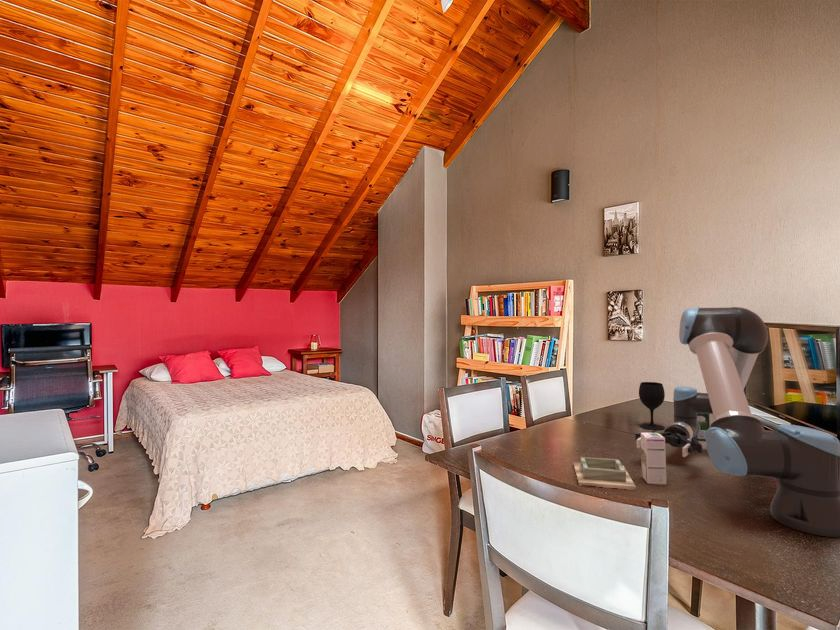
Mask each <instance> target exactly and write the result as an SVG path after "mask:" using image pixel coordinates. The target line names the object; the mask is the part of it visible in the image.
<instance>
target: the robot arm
mask: <svg viewBox="0 0 840 630" xmlns="http://www.w3.org/2000/svg"><path fill="white" fill-rule="evenodd" d="M678 336H679V337H678V338H679V341H680V344H682V345H684V346H685V345H688V348H689V350H690V352H691V353H693V354H694V355H696V357H697V361H698V363H699V368H700V370H701V373H702V374H701V375H702V379H703V382H704V386H705V389H706V392H698V391H697V390H698V389H696V388H695V387H692V386H676V387H675V388H673V397H672V398H673V399H672V400H673V423H672V424H670V425H669V426H668V427H665V429H664V431H663V432H657V430H650V432H652V433H659V434H660V435H662V436H663V437H664V438H665V444H668V445H669V446H671V447H674V448H682V449H681V450H682V453H681V454H682V456H681V457H682V458H686V457H687V456H688V455H689V454H693V453H695V452H697V453H698V454H702V453H703V445H702V444H701V442H699V440H696V438H695V437H696V436H697V434H698V433H699V430H700V426H699V423H698V422H697V413H702V414H709V415H713V420H712V421H711V423H710V428H709V429H708V430H707V431H706V435H705V440H704V441H705V443H706V444H705V445H706V451H707V455H708V457H709V459H710V460H711V461H710V462H712V465H713V466H714V467H715V468H716V469H717V470H718V471H719V472H721V473H722V474H726V475H733V476H737V477H751V478H767V479H778V487H777V488H776V491H775V493H774V496H773V498H772V501H771V503H770V509H769V510H770V515H771V517H772V519H774V520H775V521H777V522H778V523H780V524H782V525H784V526H787V528H788V527H789V528H791V529H794V530H796V531H800V532H803V533H807V534H811V535H815V536H822V537H827V538H840V440H839V439H838V438H837V437H836V436H834V435H833V434H831V433H828V432H825V431H822V430H819V429H815V428H812V427H808V426H807V427H806V426H803V425H802V426H801V425H795V424H788V423H785V424H783V423H781V424H779V425H778V426H777V428H776V429H777V430H767V429H765V428H764V426H763V423H762V420H761V419H759V418H758V417H756V416H755V415H753V414H752V411H751V409H750V406H749V405H750V404H749V403H748V399H747V396H746V394H745V390H744V389H745V387H746V384H747V383H748V380H749V378H750V376H751V373H752V370H753V368H754V366H755V364H756V360H757V359H758V356H759V354H761V353H762V352H763V353H764V351H765V349H766V347H767V345H768V341H769V333H768V328H767V325H766V324H765V322H764V320H763V319H762V318H761V316H759V314H757V313H756V312H754V311H752V310H750V309H748V308H744V307H741V306H733V307H732V306H731V307H694V308H693V307H692V308H685V310H683V312H682V313H681V317H680V321H679V334H678ZM641 433H642V432H637V433H635V435H634V436H635V438H634V439H635V440H634V441H635V442H636V449H641ZM643 433H645V431H644V432H643Z"/></svg>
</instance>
